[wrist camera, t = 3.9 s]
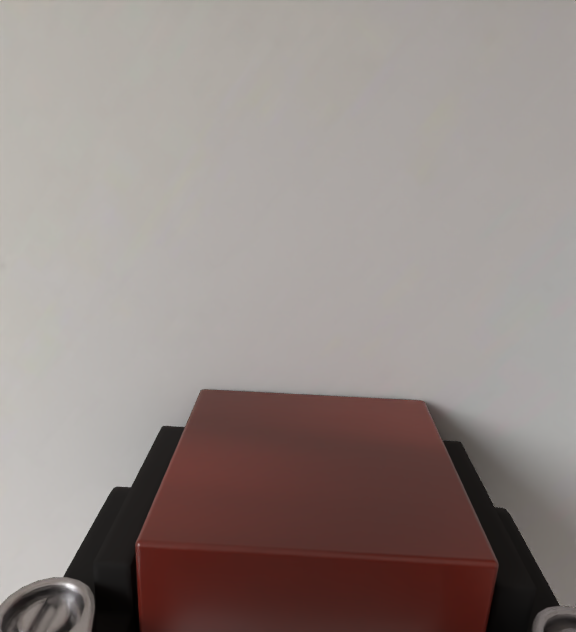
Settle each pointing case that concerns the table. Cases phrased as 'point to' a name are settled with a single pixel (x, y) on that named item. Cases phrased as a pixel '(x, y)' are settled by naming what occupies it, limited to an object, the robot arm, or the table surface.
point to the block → (312, 522)
